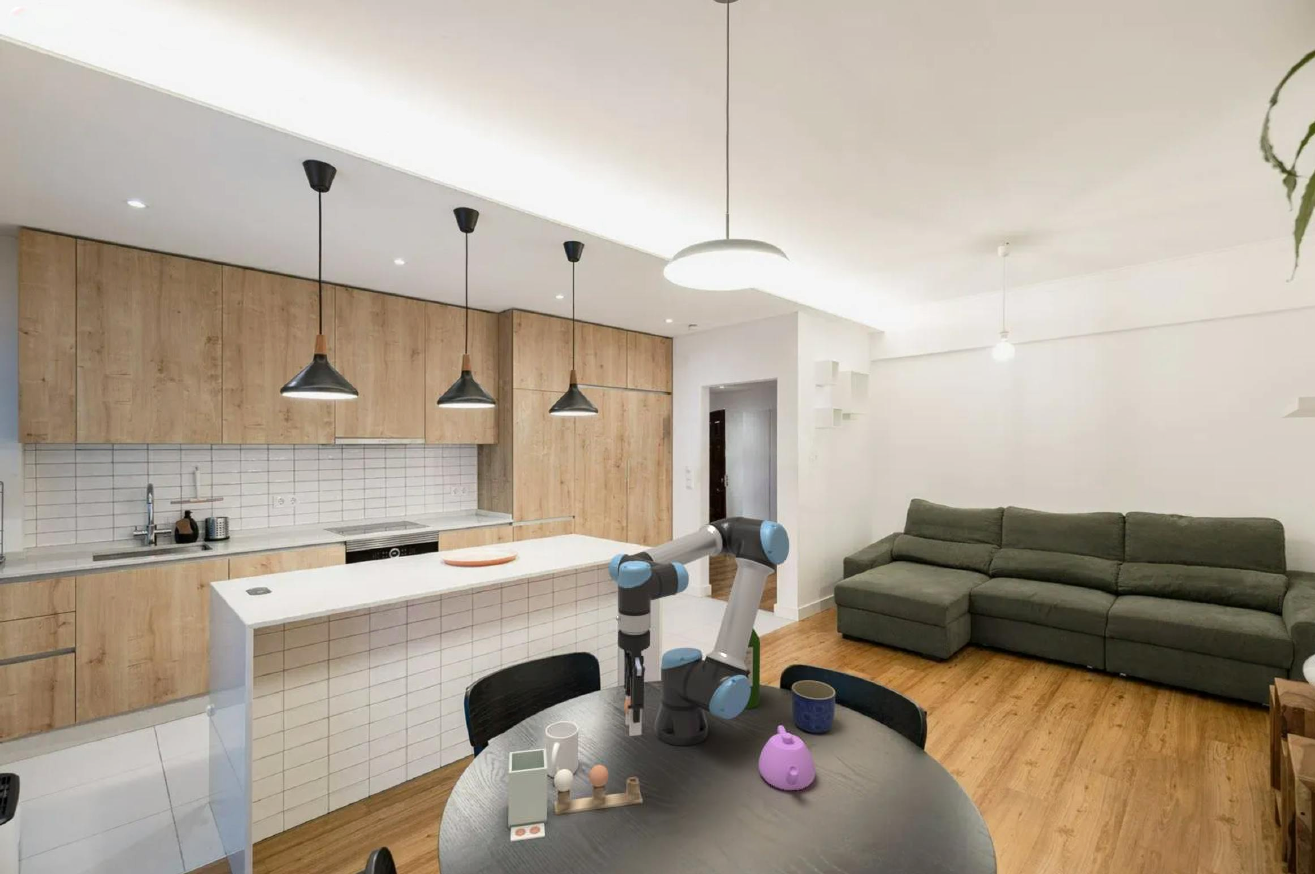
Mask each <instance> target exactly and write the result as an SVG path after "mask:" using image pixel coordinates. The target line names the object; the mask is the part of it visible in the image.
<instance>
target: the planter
mask: <svg viewBox="0 0 1315 874" xmlns="http://www.w3.org/2000/svg"><path fill="white" fill-rule="evenodd" d="M791 708H792V709H791V710H792V717H793V718H792V719H793V722H794V724H795V725H796V726H797V727H798V728H799V729H801V730H803V731H804V730H805V732H807V731H808V732H807V733H813V734H823V733H825V732H828V731H830V729H832V727H833V724H834V719H835V712H836V711H835V709H836V691H835V689H834V687H832V686H831V685H829V684H827V683H825V682H822V681H818V680H817V681H816V680H809V679H808V680H806V679H805V680H799V681H797V682H794V683H793V684H792V686H791Z"/></svg>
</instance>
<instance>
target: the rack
mask: <svg viewBox="0 0 1315 874" xmlns="http://www.w3.org/2000/svg"><path fill="white" fill-rule="evenodd" d="M625 782H626V784H625V785H626V786H625V787H626V792H621V793H613V794H606V786H605V785H606V784H605V785H603V786H601V787H596V786H594V785H592V796H590V797H582V798H575V799H571V790H570V789H571V788H570V789H569V790H567V791H559V790H558V789H557V801H554V803H553V806H554V815H555V816H556V815H563V814H572V813H578V812H585V811H591V810H592V811H593V810H594V811H595V810H600V809H607V808H613V807H615V808H616V807H621V806H623V807H624V806H629V805H637V804H638V805H639V804H643V803H644V802H643V801H644V800H643V797H642V793H641V791H640V781H639V777H638V776H632V777H626V781H625Z"/></svg>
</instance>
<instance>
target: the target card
mask: <svg viewBox="0 0 1315 874" xmlns="http://www.w3.org/2000/svg"><path fill="white" fill-rule="evenodd" d="M545 835H546V834H545V823H541V824H533V825H526V826H519V827H512V828H510V842H518V841H519V842H520V841H527V840H533V839H539V838H540V839H541V838H545V837H546V836H545Z"/></svg>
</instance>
